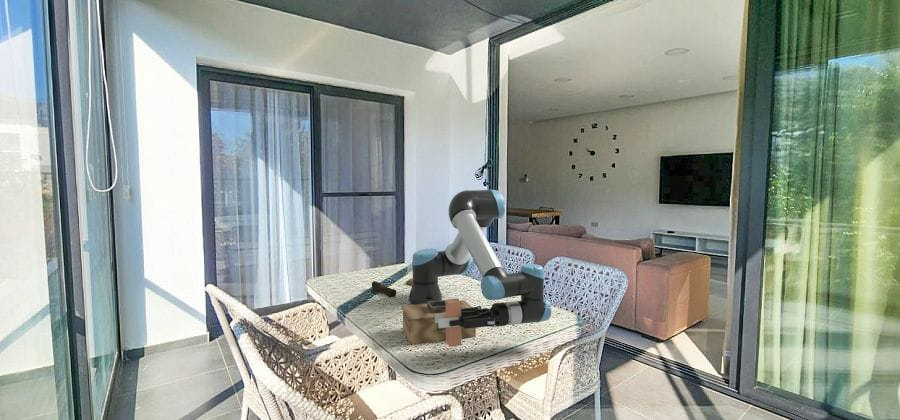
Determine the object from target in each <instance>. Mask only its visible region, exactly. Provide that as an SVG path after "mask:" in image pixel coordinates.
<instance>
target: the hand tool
mask: <svg viewBox="0 0 900 420" xmlns="http://www.w3.org/2000/svg"><path fill="white" fill-rule="evenodd" d="M371 289H372V290H373V291H374V292H376V291H378V293H382V294H384V295H385V296H388V297H389V298H390V299H391V297H392V298H395V297H396V296H397V292H398V291H397V289H395V288H391V287H388V286H385V285H383V284H381V282H378V281H375V280H374V281H372V282H371Z"/></svg>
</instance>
